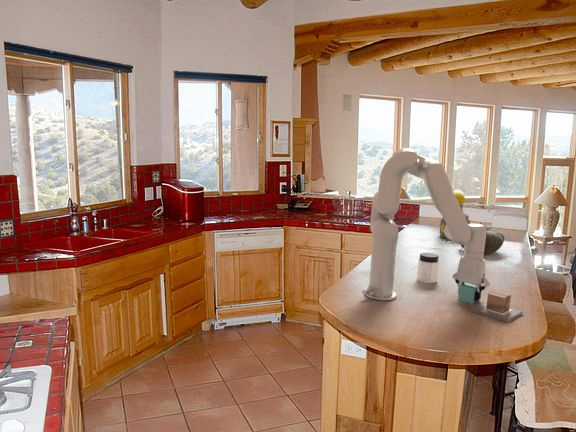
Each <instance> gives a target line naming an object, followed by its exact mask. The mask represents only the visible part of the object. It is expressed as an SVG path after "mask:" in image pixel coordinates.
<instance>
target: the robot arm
mask: <svg viewBox="0 0 576 432" xmlns="http://www.w3.org/2000/svg"><path fill="white" fill-rule="evenodd" d="M407 173H408V174H410V175H412V176H414V177H416V178H419V179H421V180H423V181H424V183H425V185H426V188H427V190H428V192H429V196H430V198H431V202H432V203H433V205H434V207H435V209H436V210H437V211H438V212H439V214H440V215H441V216H442V217H443V218H444V220H445V222H446V224H447V225H446V226H445V228H444V234H445V236H446V237H447V238H448V239H447V240H450V241H451V242H453V243H454V244H456V245H459V246H461V245H464V249H463V248H462V249H461V250H460V253H461V254H462V256H460V258H459V263H458V266H457V270H456V272H455V273H453V274H452V275H451V277H452V278H453V280H454V281H455V283H456V285H457V287H458V288H459V285H462V284H464V283H469V284H472V285H475V286H476V290H477V291H476V292H475V299H474V301H477V302H480V300H481V297H482V292H483V291H484V290H485V289H486V288H489V287H490V286H491V283H490V282H489V281H488V279H487V278H486V261H485V259H484V255H485V254H484V247H485V238H486V227H485V226H486V225H484V224H482V223H481V224H480V223H470V224H468V222H467V220H466V217H465V215H464V213H465V212H464V211H462V209H461V207H460V205H459V203H458V201H457V199H456V197H455V195H454V190H453V187H452V185H451V183H450V180H449V178H448V175H447V171H446V170H445V167H444V165H443V164H442V162H440V161H437V160H433V159H430V158H427V157H425V156H422V155H421V154H418V153H417V151H415V150H414V149H412V148H407V147H401V148H398V149H396V150H395V151H394V152H393V154H392V156H391V157H390V158H389V159H388V160H387V161H386V162H385V163H384V165H383V166H382V168H381V171H380V176H379V181H378V182H379V184H378V190H377V192H375V194H374V195H373V198H372V202H371V210H370V212H371V213H370V223H369V224H370V226H369V227H370V231H371V233H372V237H373V238H372V243H371V244H372V245H371V254H370V269H369V282H368V285H367V288H366V289H363V290H362V295H363V296H364V295H365V297H367V298H369V299H372V300H377V301H393V300H396V299H397V295H398V294H397V293H396V292H395V291H394V284H395V283H394V281H395V271H396V270H395V267H396V257H397V256H396V255H397V246H398V242H399V241H398V240H399V229H398V226H397V224H396V222H395V221H394V220H395V214H396V213H397V212H398V211H399V209H400V201H401V200H400V199H401V191H402V183H403V179H404V177H405V175H406V174H407ZM463 212H464V213H463ZM482 284H484V285H482ZM457 291H458V292H457V294H458V295H459V289H458V290H457Z"/></svg>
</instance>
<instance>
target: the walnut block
mask: <svg viewBox="0 0 576 432" xmlns="http://www.w3.org/2000/svg"><path fill="white" fill-rule="evenodd" d="M511 297H512V294H510V293H506V292H503V291H499V290H493V291H491V292H488V294H487V298H486V300H487V301H486V303H487V307H486V309H489V310H492V311H495V312H499V313H504V312H506V311H508V310H509V308H511V307H510V306H511V299H512V298H511Z"/></svg>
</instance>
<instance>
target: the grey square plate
mask: <svg viewBox="0 0 576 432" xmlns="http://www.w3.org/2000/svg"><path fill="white" fill-rule="evenodd" d="M486 307H487V302H485V303H483V304H480V305H478V306H476V307H474V308H472V312H473V313H475V314H479V315H481V316H486V317H488V318H492V319H495V320H498V321H502V322H504V323H509V322H511V321H513V320H514V319H517V318H518V317H520V316H522V315H523V313H524V312H523V310H520V309H516V308H513V307H510V308H509V310H508V311H506V312H504V313H499V312H495V311H492V310H489V309H486Z"/></svg>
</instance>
